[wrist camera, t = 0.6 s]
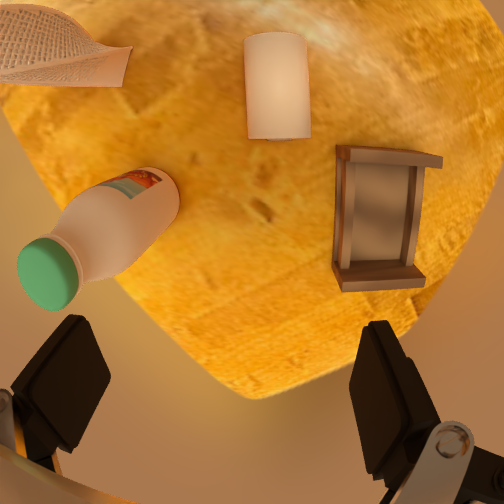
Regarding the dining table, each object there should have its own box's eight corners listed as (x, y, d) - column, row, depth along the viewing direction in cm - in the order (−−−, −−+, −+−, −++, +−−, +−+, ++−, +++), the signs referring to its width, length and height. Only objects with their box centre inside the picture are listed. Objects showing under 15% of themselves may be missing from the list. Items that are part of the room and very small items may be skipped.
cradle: (336, 145, 29) (350, 148, 24) (417, 151, 28) (442, 156, 23) (331, 267, 35) (341, 292, 29) (405, 264, 34) (423, 287, 29)
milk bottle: (193, 188, 32) (103, 271, 13) (162, 241, 34) (75, 352, 16) (138, 154, 30) (8, 196, 12) (112, 208, 33) (-2, 288, 15)
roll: (246, 48, 25) (239, 31, 20) (303, 46, 25) (308, 29, 19) (251, 140, 30) (244, 142, 24) (308, 139, 29) (314, 141, 23)
